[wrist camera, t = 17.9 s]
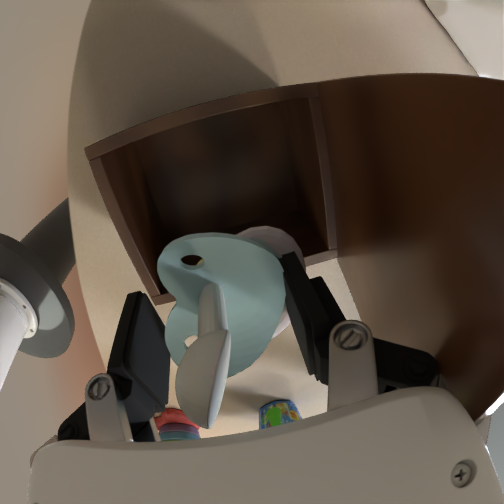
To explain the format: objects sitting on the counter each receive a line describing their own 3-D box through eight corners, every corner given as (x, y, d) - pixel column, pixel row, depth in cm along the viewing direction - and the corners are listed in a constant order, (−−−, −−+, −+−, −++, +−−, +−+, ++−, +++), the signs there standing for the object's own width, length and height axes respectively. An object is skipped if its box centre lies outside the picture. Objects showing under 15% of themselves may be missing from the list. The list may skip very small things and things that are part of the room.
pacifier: (317, 212, 11) (160, 205, 9) (410, 323, 5) (119, 340, 4) (283, 340, 14) (169, 342, 13) (318, 444, 9) (169, 458, 8)
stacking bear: (167, 405, 44) (168, 490, 29) (211, 417, 48) (219, 494, 33) (146, 421, 47) (144, 493, 32) (185, 432, 52) (190, 499, 37)
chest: (167, 249, 28) (155, 306, 20) (123, 132, 21) (83, 148, 13) (304, 212, 28) (340, 256, 20) (282, 87, 21) (319, 81, 14)
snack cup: (244, 396, 45) (252, 444, 36) (300, 383, 45) (315, 430, 37) (256, 425, 53) (264, 463, 44) (302, 414, 54) (313, 452, 45)
